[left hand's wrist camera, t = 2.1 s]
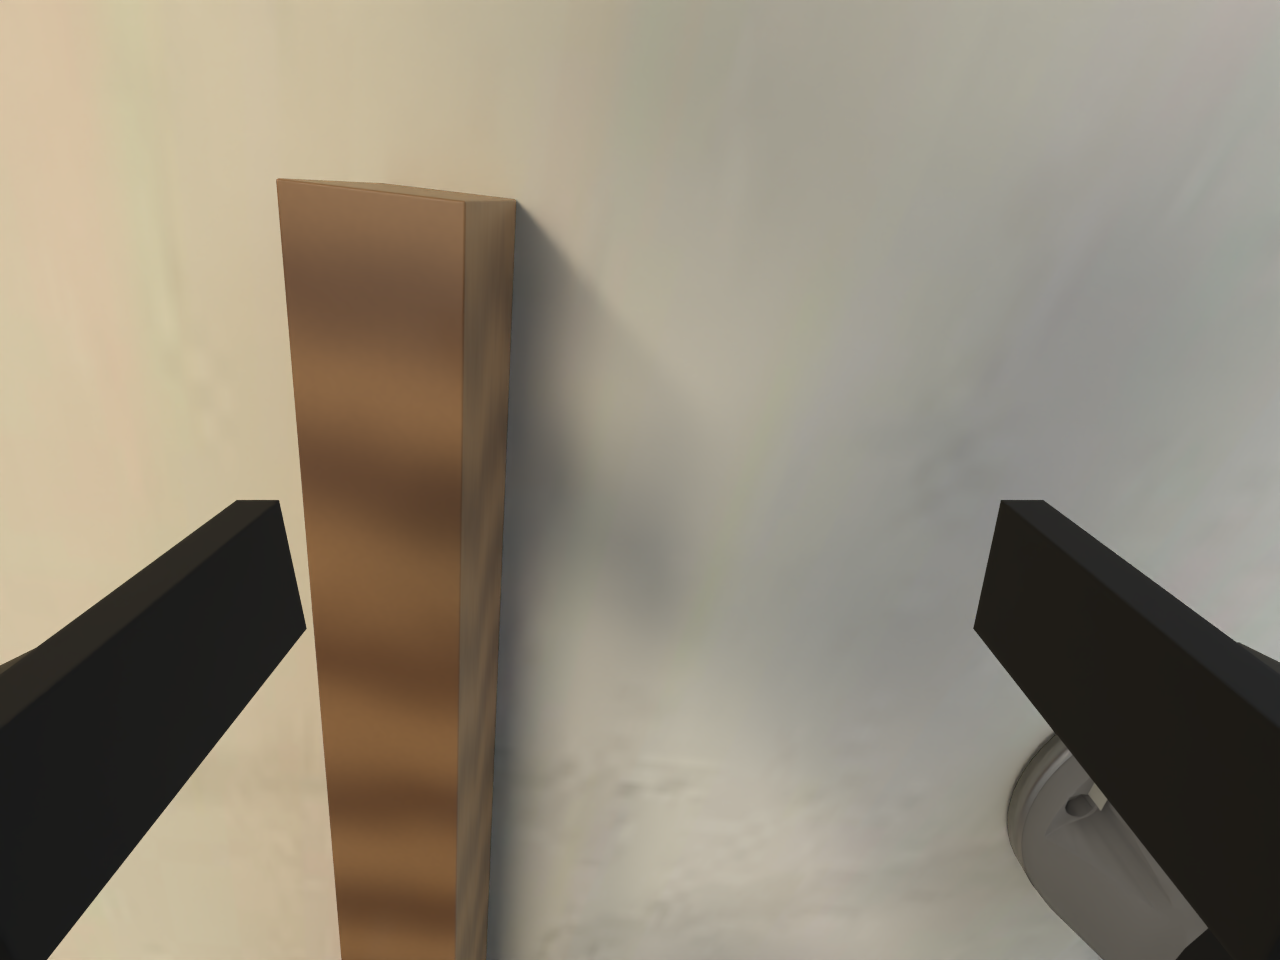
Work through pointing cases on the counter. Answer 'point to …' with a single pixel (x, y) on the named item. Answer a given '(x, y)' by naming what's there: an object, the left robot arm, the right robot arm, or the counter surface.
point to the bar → (403, 541)
